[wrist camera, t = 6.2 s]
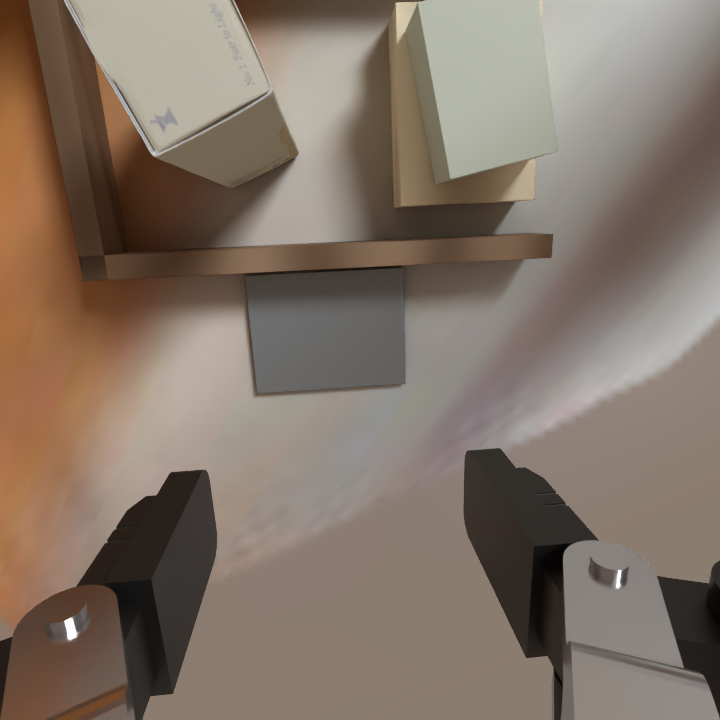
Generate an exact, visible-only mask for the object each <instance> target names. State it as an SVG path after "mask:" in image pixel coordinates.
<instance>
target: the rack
mask: <svg viewBox="0 0 720 720" xmlns="http://www.w3.org/2000/svg"><path fill="white" fill-rule="evenodd" d="M28 3H29V8H30V13H31V18H32V23H33V28H34V33H35V38H36V43H37V48H38V53H39V58H40V63H41V68H42V73H43V79H44V84H45V89H46V94H47V99H48V104H49V109H50V114H51V119H52V124H53V129H54V134H55V139H56V144H57V149H58V154H59V159H60V164H61V169H62V174H63V179H64V184H65V189H66V194H67V199H68V204H69V210H70V215H71V220H72V225H73V230H74V235H75V240H76V245H77V250H78V255H79V260H80V265H81V270H82V275H83V280H84V281H97V280H117V279H137V278H156V277H176V276H196V275H216V274H236V273H256V272H276V271H296V270H316V269H335V268H355V267H375V266H395V265H415V264H435V263H455V262H475V261H495V260H515V259H534V258H551V256H552V241H553V234H535V233H523V234H502V235H480V236H459V237H437V238H416V239H395V240H373V241H352V242H330V243H309V244H288V245H266V246H245V247H223V248H202V249H180V250H159V251H138V252H127V247H126V241H125V235H124V230H123V224H122V218H121V212H120V206H119V200H118V194H117V189H116V183H115V177H114V171H113V165H112V159H111V154H110V148H109V142H108V136H107V130H106V124H105V118H104V113H103V107H102V101H101V95H100V89H99V83H98V78H97V72H96V66H95V60H94V56H93V54H92V52H91V50H90V48H89V47H88V45H87V43H86V41H85V39H84V37H83V35H82V34H81V32H80V30H79V28H78V26H77V24H76V23H75V21H74V19H73V17H72V15H71V13H70V11H69V10H68V8H67V6H66V4H65V2H64V0H28Z"/></svg>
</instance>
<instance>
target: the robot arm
mask: <svg viewBox="0 0 720 720" xmlns="http://www.w3.org/2000/svg"><path fill="white" fill-rule="evenodd" d="M464 520H465V526H466V530H467V534H468V537H469V539H470V541H471V543H472V545H473V547H474V549H475V552H476V554H477V556H478V558H479V560H480V562H481V564H482V566H483V568H484V570H485V573H486V575H487V577H488V579H489V581H490V583H491V585H492V587H493V589H494V591H495V593H496V596H497V598H498V600H499V602H500V604H501V606H502V608H503V610H504V612H505V615H506V616H507V619H508V621H509V623H510V625H511V627H512V629H513V631H514V633H515V635H516V638H517V640H518V642H519V644H520V646H521V648H522V650H523V652H524V654H525V656H526V658H531V657H541V656H548V658H549V659H550V661H551V663H552V665H553V677H552V720H720V561H719V562H717V563H715V565H714V566H713V568H712V571H711V576H710V581H709V583H701V582H694V581H686V580H679V579H672V578H665V577H660V576H657V575H656V573H655V571H654V569H653V568H652V566H651V565H650V564H648V562H647V561H646V560H644V559H643V558H642V557H641V556H639V555H638V554H636V553H635V552H633V551H631V550H629V549H627V548H624V547H622V546H619V545H616V544H613V543H608V542H604V541H599V540H598V539H597V538H596V537H595V536H594V535H593V533H592V532H591V531H590V530H589V529H588V528H587V527H586V525H584V523H583V522H582V521H581V520H580V519H579V518H578V516H577V515H576V514H575V513H574V512H573V511H572V510H571V508H569V506H566V504H565V502H564V501H563V500H562V498H561V497H560V496H559V495H558V494H556V492H555V490H554V489H553V488H552V487H551V486H550V485H549V484H548V482H547V481H546V480H545V479H544V478H542V477H541V476H539V475H537V474H535V473H534V472H532V471H530V470H528V469H527V468H515V466H514V465H513V464H512V463H511V462H510V460H509V459H508V458H507V456H506V455H505V454H504V453H503V451H502V450H501V449H499V448H496V449H483V450H470V451H467V452H466V455H465V470H464ZM116 527H117V528H116V530H114V531H113V532H112V534H111V535H110V537H109V538H108V540H107V541H108V542H107V543H105V544H104V546H103V547H102V549H101V550H100V552H99V553H98V555H97V556H96V558H95V559H94V561H93V562H92V564H91V565H90V567H89V568H88V570H87V571H86V573H85V574H84V576H83V577H82V579H81V580H80V582H79V583H78V585H77V586H76V587H74V588H71V589H67V590H65V591H62V592H60V593H57V594H55V595H53V596H51V597H49V598H48V599H46V600H44V601H43V602H41V603H40V604H38V605H37V606H35V607H34V608H33V609H32V610H31V611H29V612H28V613H27V614H26V615H25V616H24V617H23V618H22V620H21V621H20V622H19V624H18V625H17V627H16V629H15V631H14V633H13V637H10V638H8V639H5V640H2V641H0V720H143V715H144V712H145V709H146V707H147V704H148V701H149V698H150V696H156V695H165V694H173V692H174V688H175V686H176V682H177V679H178V676H179V672H180V669H181V666H182V663H183V660H184V657H185V653H186V650H187V647H188V644H189V640H190V637H191V634H192V631H193V628H194V624H195V621H196V618H197V615H198V612H199V608H200V605H201V602H202V598H203V596H204V592H205V589H206V586H207V583H208V580H209V576H210V573H211V570H212V567H213V563H214V560H215V556H216V549H217V530H216V522H215V515H214V508H213V501H212V494H211V487H210V480H209V475H208V473H207V471H206V470H194V471H181V472H171V473H170V474H169V476H168V477H167V479H166V481H165V482H164V484H163V486H162V487H161V489H160V491H159V492H158V494H157V495H156V496H146V497H144V498H143V499H142V500H140V501H139V502H138V503H137V504H135V505H134V506H133V507H131V508H130V509H129V510H127V512H126V513H125V515H124V516H123V518H122V519H121V521H120V522H119V524H118V525H117V526H116Z"/></svg>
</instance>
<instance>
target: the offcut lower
mask: <svg viewBox="0 0 720 720" xmlns="http://www.w3.org/2000/svg"><path fill="white" fill-rule="evenodd" d="M417 3H418V2H396V3H395V6H394V9H393V12H392V15H391V18H390V21H389V24H388V27H389V60H390V93H391V126H392V159H393V192H394V208H405V207H424V206H444V205H463V204H482V203H502V202H518V201H526V200H534V189H535V166H536V158H534V159H531V160H528V161H524V162H520V163H516V164H512V165H509V166H505V167H501V168H497V169H493V170H489V171H486V172H482V173H478V174H474V175H470V176H466V177H463V178H459V179H455V180H451V181H447V182H444V183H440V184H436V185H435V182H434V176H433V171H432V166H431V161H430V156H429V151H428V146H427V141H426V135H425V130H424V125H423V120H422V115H421V110H420V105H419V99H418V94H417V89H416V84H415V79H414V74H413V69H412V63H411V58H410V53H409V48H408V43H407V38H406V33H405V30H406V28H407V26H408V23H409V21H410V19H411V17H412V14H413V12H414V10H415V8H416V5H417ZM539 6H540V14H541V22H542V8H543V0H539Z"/></svg>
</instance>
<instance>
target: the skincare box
mask: <svg viewBox="0 0 720 720" xmlns="http://www.w3.org/2000/svg"><path fill="white" fill-rule="evenodd" d="M64 2H65V4H66V6H67V8H68V10H69V11H70V13H71V15H72V17H73V19H74V21H75V23H76V24H77V26H78V28H79V30H80V32H81V34H82V35H83V37H84V39H85V41H86V43H87V45H88V47H89V48H90V50H91V52H92V54H93V56H94V57H95V59H96V61H97V62H98V64H99V66H100V68H101V69H102V71H103V73H104V74H105V76H106V78H107V79H108V81H109V83H110V85H111V87H112V88H113V90H114V92H115V94H116V95H117V97H118V99H119V100H120V102H121V104H122V105H123V107H124V109H125V111H126V112H127V114H128V116H129V118H130V119H131V121H132V123H133V124H134V126H135V128H136V129H137V131H138V133H139V134H140V136H141V138H142V139H143V141H144V143H145V145H146V146H147V148H148V150H149V152H150V153H151V155H152V156H153V157H155V158H157V159H159V160H162V161H164V162H167V163H170V164H172V165H175V166H177V167H179V168H182V169H184V170H186V171H189V172H191V173H194V174H196V175H199V176H201V177H204V178H206V179H209V180H211V181H214V182H216V183H218V184H221V185H223V186H226V187H228V188H231V189H232V188H235V187H237V186H239V185H241V184H243V183H246V182H248V181H250V180H252V179H254V178H256V177H258V176H260V175H262V174H264V173H266V172H268V171H270V170H272V169H274V168H276V167H278V166H279V165H281V164H283V163H285V162H287V161H288V160H290V159H292V158H294V157H296V156H297V155H298V154H299V152H298V149H297V147H296V144H295V142H294V140H293V138H292V135H291V133H290V131H289V129H288V126H287V124H286V122H285V119H284V117H283V114H282V112H281V110H280V107H279V104H278V102H277V99H276V96H275V93H274V90H273V87H272V85H271V82H270V80H269V77H268V75H267V73H266V70H265V68H264V65H263V63H262V61H261V58H260V56H259V54H258V51H257V49H256V47H255V45H254V42H253V40H252V38H251V36H250V34H249V31H248V29H247V27H246V25H245V23H244V20H243V18H242V16H241V14H240V12H239V10H238V8H237V5H236V3H235V1H234V0H64Z"/></svg>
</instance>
